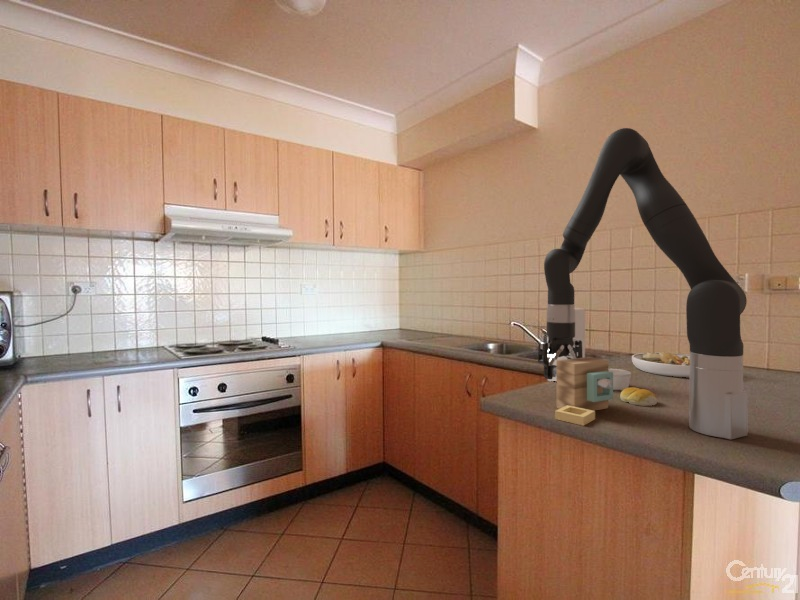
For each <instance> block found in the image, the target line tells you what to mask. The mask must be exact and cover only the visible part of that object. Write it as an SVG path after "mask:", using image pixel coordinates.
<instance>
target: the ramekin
mask: <svg viewBox="0 0 800 600" xmlns="http://www.w3.org/2000/svg"><path fill="white" fill-rule="evenodd" d="M608 371H609V372H613V391H623V390H624V389H626V388H630V381H631V377H632V372H631V371H628V370H626V369H621V368H620V369H619V368H609V367H608Z"/></svg>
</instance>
